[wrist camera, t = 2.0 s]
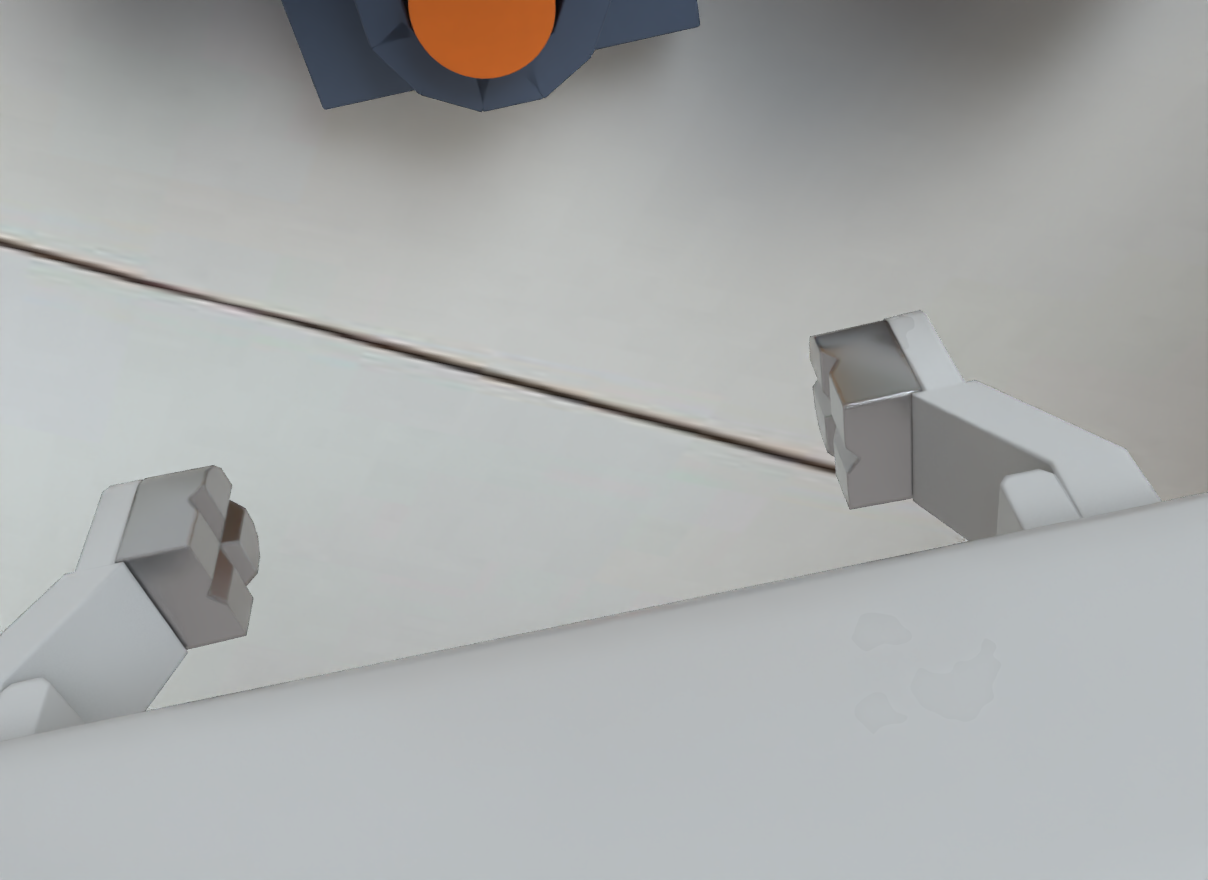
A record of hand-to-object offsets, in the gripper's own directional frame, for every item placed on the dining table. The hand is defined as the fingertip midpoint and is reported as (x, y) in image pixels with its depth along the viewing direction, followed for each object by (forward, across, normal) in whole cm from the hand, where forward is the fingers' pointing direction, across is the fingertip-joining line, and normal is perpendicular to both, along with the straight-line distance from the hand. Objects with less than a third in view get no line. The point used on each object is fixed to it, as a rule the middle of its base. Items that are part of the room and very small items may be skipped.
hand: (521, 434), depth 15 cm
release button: (+18, 0, 0) cm, 18 cm away
